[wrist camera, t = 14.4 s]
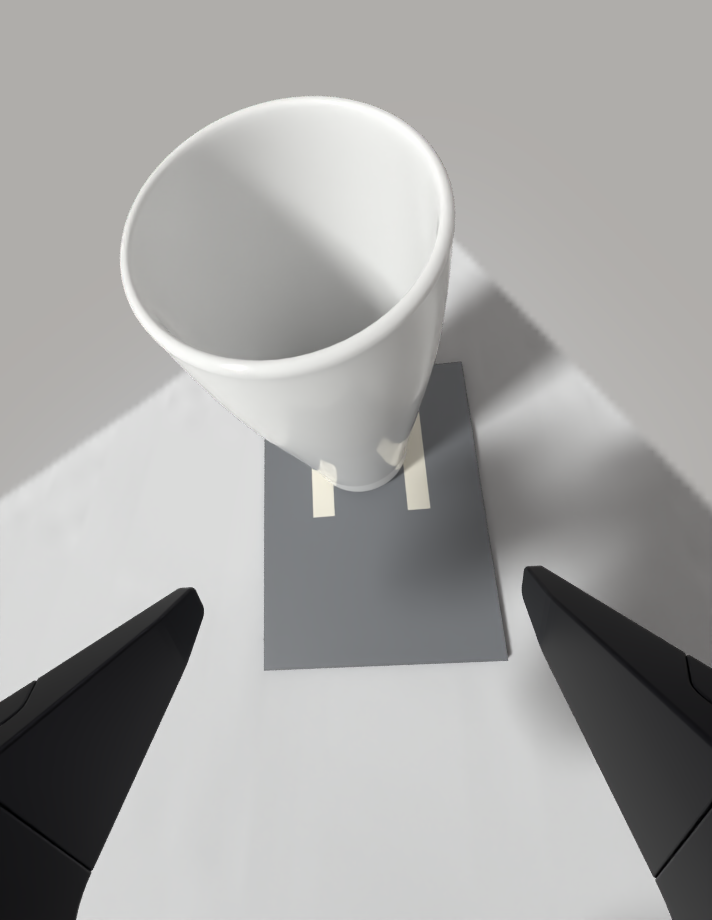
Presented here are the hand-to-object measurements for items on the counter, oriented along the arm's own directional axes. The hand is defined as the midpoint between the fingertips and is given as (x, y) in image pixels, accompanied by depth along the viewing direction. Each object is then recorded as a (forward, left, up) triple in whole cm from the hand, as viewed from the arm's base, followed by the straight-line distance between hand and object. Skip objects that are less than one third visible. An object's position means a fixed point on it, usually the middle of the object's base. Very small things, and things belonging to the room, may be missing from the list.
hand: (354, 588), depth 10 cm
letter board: (+2, -3, -10) cm, 11 cm away
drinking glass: (+4, -6, -10) cm, 12 cm away
